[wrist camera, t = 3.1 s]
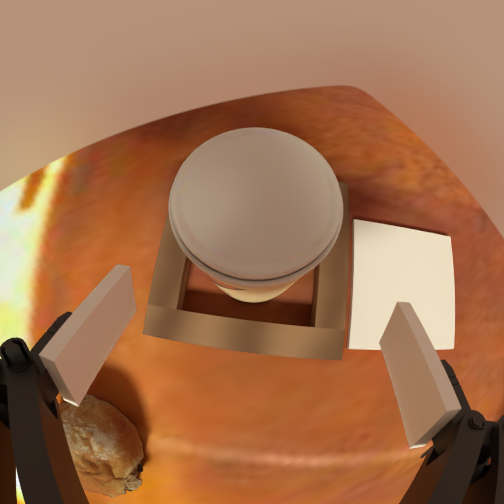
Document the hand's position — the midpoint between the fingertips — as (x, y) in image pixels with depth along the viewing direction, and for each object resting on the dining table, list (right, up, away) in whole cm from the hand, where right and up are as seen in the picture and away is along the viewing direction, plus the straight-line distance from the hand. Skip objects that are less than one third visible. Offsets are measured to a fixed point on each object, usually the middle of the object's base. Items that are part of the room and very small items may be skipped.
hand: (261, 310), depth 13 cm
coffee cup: (0, +2, +12) cm, 13 cm away
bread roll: (-15, -16, +7) cm, 22 cm away
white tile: (+14, -1, +11) cm, 18 cm away
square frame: (0, +2, +12) cm, 12 cm away
